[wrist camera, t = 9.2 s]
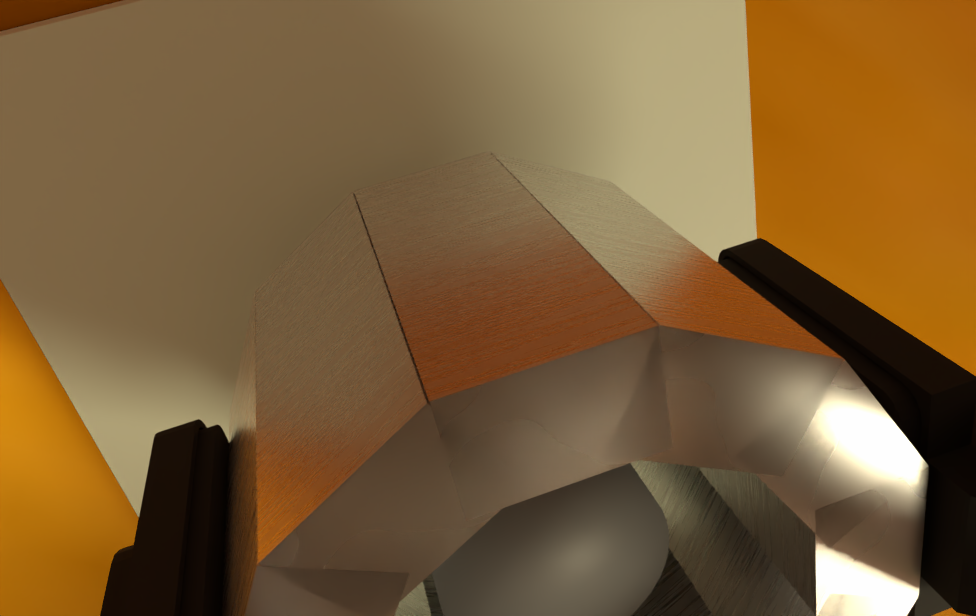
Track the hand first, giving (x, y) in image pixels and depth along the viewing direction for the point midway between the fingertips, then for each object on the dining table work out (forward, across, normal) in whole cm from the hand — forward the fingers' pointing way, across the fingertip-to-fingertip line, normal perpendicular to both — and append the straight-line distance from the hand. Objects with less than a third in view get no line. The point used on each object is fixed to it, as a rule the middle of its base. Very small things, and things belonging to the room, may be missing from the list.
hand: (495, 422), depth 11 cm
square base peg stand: (+4, 0, 0) cm, 4 cm away
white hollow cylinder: (+1, 0, 0) cm, 1 cm away
